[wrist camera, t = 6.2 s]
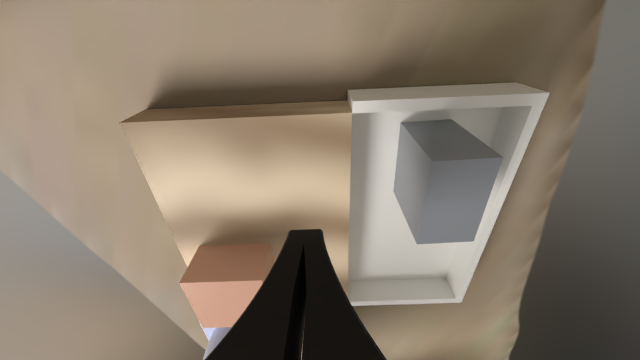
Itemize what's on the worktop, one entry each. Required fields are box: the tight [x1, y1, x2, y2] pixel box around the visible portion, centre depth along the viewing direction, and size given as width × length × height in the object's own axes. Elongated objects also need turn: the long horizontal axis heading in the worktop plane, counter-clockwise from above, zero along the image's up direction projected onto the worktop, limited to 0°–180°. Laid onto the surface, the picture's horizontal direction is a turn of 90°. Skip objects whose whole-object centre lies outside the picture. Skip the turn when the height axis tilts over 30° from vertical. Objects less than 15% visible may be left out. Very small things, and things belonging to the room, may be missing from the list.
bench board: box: [120, 100, 352, 295], centre depth 18 cm, size 16×12×2 cm
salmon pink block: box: [180, 243, 274, 328], centre depth 18 cm, size 5×5×3 cm
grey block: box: [393, 119, 503, 244], centre depth 14 cm, size 5×5×3 cm
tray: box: [347, 82, 550, 306], centre depth 18 cm, size 17×10×2 cm, turn 2°
